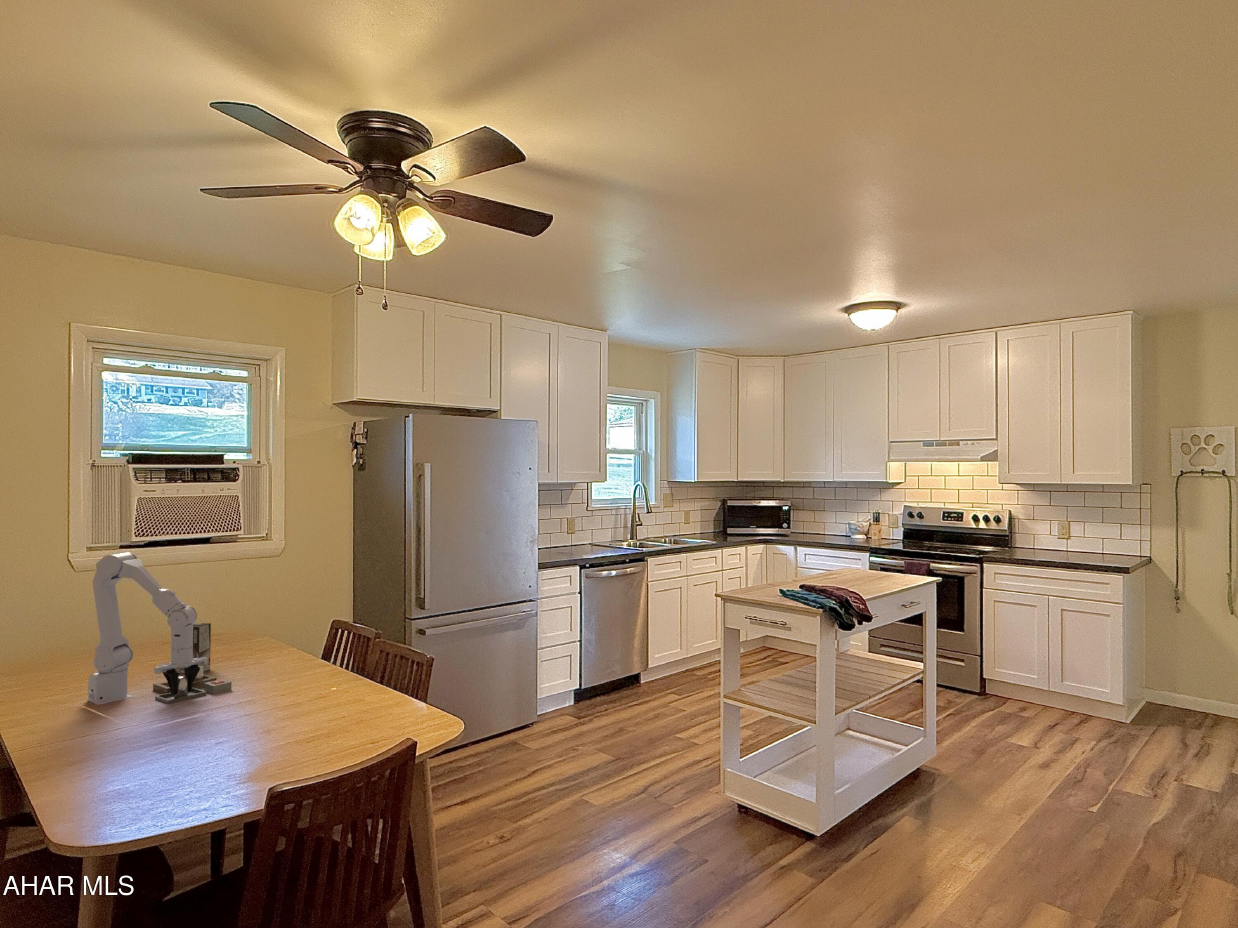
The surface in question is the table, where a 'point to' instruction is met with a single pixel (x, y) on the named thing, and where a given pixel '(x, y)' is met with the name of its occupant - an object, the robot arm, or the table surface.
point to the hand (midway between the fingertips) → (181, 692)
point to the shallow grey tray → (169, 697)
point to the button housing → (217, 686)
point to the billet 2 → (199, 674)
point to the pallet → (164, 686)
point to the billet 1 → (182, 687)
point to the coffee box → (201, 643)
